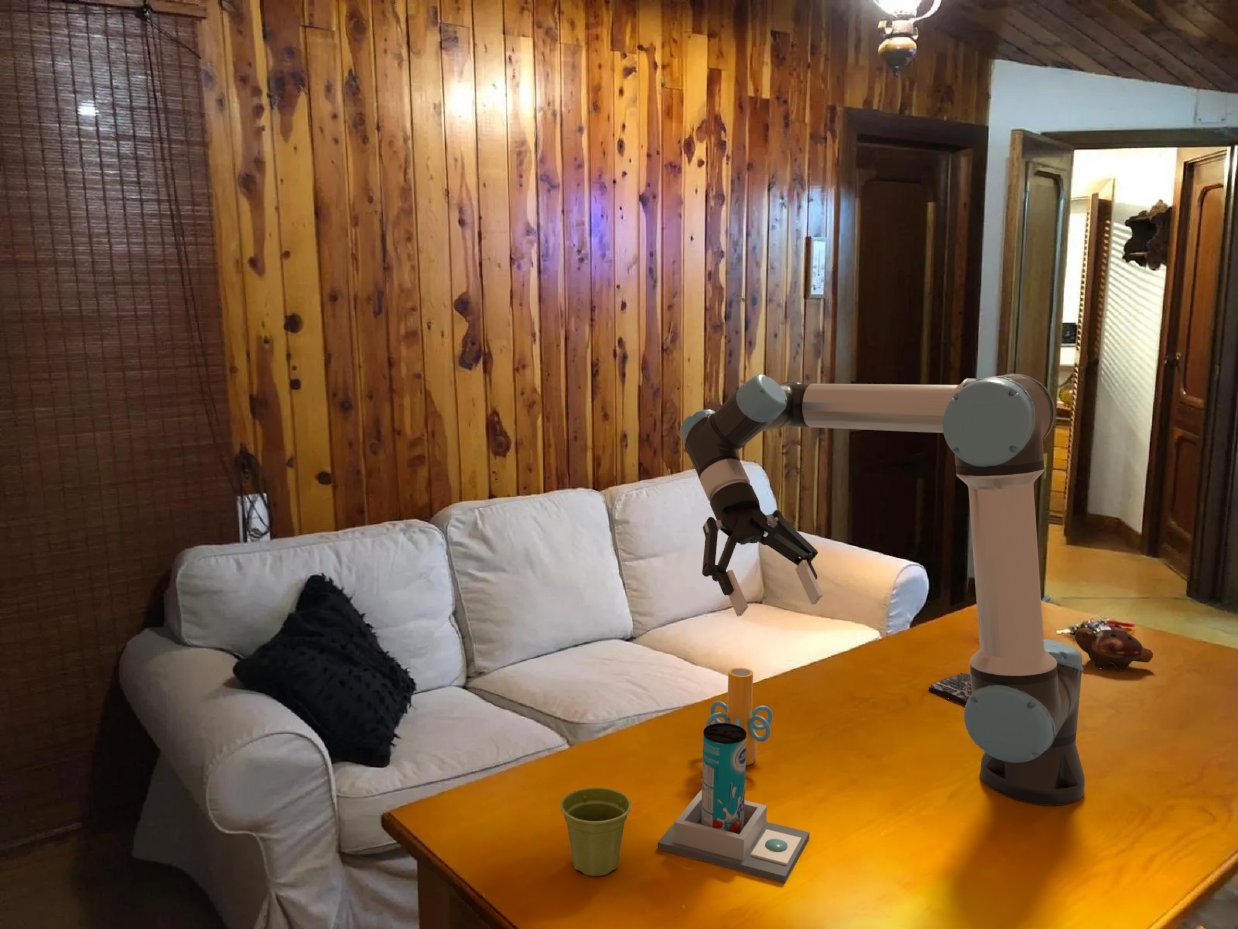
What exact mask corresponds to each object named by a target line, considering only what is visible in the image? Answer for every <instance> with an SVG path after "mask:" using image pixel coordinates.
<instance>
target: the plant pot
mask: <svg viewBox="0 0 1238 929" xmlns="http://www.w3.org/2000/svg"><path fill="white" fill-rule="evenodd" d="M559 806H560V808H559V809H560V811H561V812H562V814H563V816H564V817H563V818H564V821H565V822H566V826H567V833H568V840H569V845H570V846H569V847H570V854H571V860H572V866H573V868H574V870H576V871H580V872H581V873H582V874H584V875H586V876H589V877H598V876H601V877H602V876H605V875H608V874H609V873H610V872H612V871H613V870H616V869H617V868H618V866H619V863H620V862H619V861H620V855H621V848H622V842H623V837H624V836H623V835H624V829H625V823H626V821H627V819H628V814H629V813H630V812H631V809H632V801H631V800H630V798H629V797H628V796H627V795H626V794H625V793H623V792H622V791H620V790H616V789H612V788H608V787H595V786H594V787H585V788H584V787H583V788H581V789H575V790H574V791H573V790H572V792H569V793H568V794H566V795H564V796H563V798H562V799H561V801H560V805H559Z"/></svg>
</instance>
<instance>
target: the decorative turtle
mask: <svg viewBox="0 0 1238 929" xmlns="http://www.w3.org/2000/svg"><path fill="white" fill-rule="evenodd" d="M1074 640H1075V642H1076V644H1077V646H1078V647H1079V648H1080V649H1081V650H1082V651H1083V652H1084V653H1086V654H1087V655H1088V658H1089V659H1090V660H1091V661H1092V662H1093V663H1094V666H1095V667H1096V668H1097V669H1098V668H1102V669H1103V668H1104V669H1105V667H1106V666H1108V665H1109V664H1112V665H1113V666H1114V667H1115V668H1116V669H1117V670H1119V672H1124V671H1126V670H1127V669H1128V668H1129V667H1130V665H1131V663H1133V662H1137V663H1150V662H1151V660H1153V658H1154V652H1153V651H1152V650H1151V649H1149V648H1146V647H1144V646H1143V644H1142V643H1141V641H1139V640H1138V638H1136V637H1134V636H1133V635H1131V634H1130V633H1127V632H1125V631H1121V630H1118V629H1102V630H1099V631H1096V632H1095V631H1094V630H1092V629H1091V628H1089V627H1082V628H1078V629H1077V630H1076V632H1075V633H1074Z"/></svg>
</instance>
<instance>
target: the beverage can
mask: <svg viewBox="0 0 1238 929" xmlns="http://www.w3.org/2000/svg"><path fill="white" fill-rule="evenodd" d="M702 733H703V736H702V738H703V740H702V742H703V743H702V771H701V773H702V775H701V776H702V778H701V779H702V780H701V790H702V817H701V825H704V826H708V827H712V828H716V829H720V830H724V831H728V832H732V833H736V834H740V833H741V831H742V830H743V828H744V800H745V798H746V797H745V794H746V767H747V766H746V735H747V733H746V731H745V730H744V729H743V728H742V727H740V726H737V725H734V724H729V723H711V725H709V726H707V727H706V726H705V727H704V729H703V732H702ZM745 801H746V800H745Z"/></svg>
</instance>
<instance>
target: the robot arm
mask: <svg viewBox="0 0 1238 929" xmlns="http://www.w3.org/2000/svg"><path fill="white" fill-rule="evenodd" d="M1055 418H1056V406H1055V401H1054V399H1053V397H1052V394H1051V392H1050V391H1049V390H1048V389H1047V387H1046V385H1044V384H1043V383H1042V382H1040V381H1039V380H1037V379H1035V378H1033V377H1031V376H1029V375H1026V374H1022V373H1021V374H1020V373H1007V374H1002V375H1001V374H1000V375H997V376H990V375H989V376H988V377H983V378H982V377H981V378H965V379H964V380H963V381H962V382H961V383H960V384H896V383H895V384H891V383H889V384H888V383H887V384H886V383H885V384H882V383H880V384H877V383H876V384H874V383H870V384H869V383H802V382H795V381H788V382H787V381H785V382H781V383H778V382H776V381H775V380H774V379H773V378H771V377H769V376H767V375H765V374H756V375H753V376H752V377H751V378H750V379H748V380H747V381H746V382H744V383H742V384H741V385H740V386H739V388H738V389H737V390H736V391H735V392H734V393H733V394H732V395H731V396H730V397H729V398H728V399H727V400H726V401H724V403H723V404H721V406H719V407H718V408H717V410H713V409H701V410H697V411H696V412H695V413H693V414H689V415H688V416H687V417H686V418H684V420H683V421H682V423H681V425H680V429H679V434H680V437H681V439H682V443H683V445H684V446H683V447H684V450H685V452H686V454H687V455H688V457H689V459H690V461H691V463H692V466H693V468H694V469H695V472H696V474H697V477H698V479H699V482H700V484H701V486H702V489H703V491H704V493H705V496H706V498H707V500H708V501H709V505H710V507H711V511H712V512H713V515H714V517H715V518H714V517H713V516H709V517H708V518H707V520H706V521H705V523H704V524H703V526H702V531H703V534H704V548H703V550H704V551H703V560H702V561H703V562H702V567H701V568H702V569H701V574H702V575H703V576H704V577H705V578H706V577H707V578H709V577H711V579H712V581H714V582H718V585H719V587H720V590H721V592H722V593H723V595H724V596H725V597H726V596H728V598H729V600H730V603H731V605H732V608H733V610H734V612H735V615H736V617H742V616H743V615H744V614H745V612H746V611H747V609H748V608H749V605H748V603H747V601H746V599H745V595H744V594H743V592H742V589H741V587H740V584H739V582H738V579H737V577H736V576H735V575H736V574H735V572H734V570H733V569H729V570H727V568H728V566H729V565H730V562H731V559H732V557H733V554H734V551H735V549H736V546H737V544H740V546H742V545H747V544H758V543H760V544H761V545H762V546H768V547H769V548H771V549H773V551H775V552H777V553H778V554H780V555H781V556H783V557H784V558H785V559H787V560H788V561H790V562H791V563H793V564H794V565H796V567H795V569H794V570H795V573H796V574H797V576H798V579H799V581H800V583H801V585H802V587H803V589H804V592H805V594H806V596H807V597H808V600H809V601H810V604H811V605H816V604H817V603H818V602H819V601H820V599H822V597H823V596H824V594H823V592H822V589H821V587H820V586H819V583H818V581H817V579H818V574H817V572H816V570H815V567H814V566H813V563H812V561H813V560H815V558H816V556H817V555H818V554H819V552H818V549H816V548H815V547H814V546H813V545H812V544H811V543H810V542H809V541H808V540H807V539H806V538H805V537H804V536H802V534H800V532H799V531H797V529H795V528H794V527H793V526H792V525H791V524H790V523H789V522H788V521H787V520H786V519H785V517H784V515H783V514H782V512H781V511H780V510H778V509H775V510H774V511H773V512H772V513H770V514H765V513H764V512H763V511H762V510H761V507H760V506H761V505H760V500H759V498H758V496H757V494H756V491H755V490H754V487H753V486H752V484H751V480H750V478H749V477H748V475H747V471H745V468H744V466H743V464H742V462H741V460H740V458H739V455H738V451H740V450H741V449H742V448H744V447H745V446H746V445H747V444H748V443H749V442H750V441H752V440H753V439H754V438H755V437H756V436H758V434H760V433H761V432H766V431H771V430H775V429H780V428H822V429H823V428H824V429H844V430H846V429H847V430H849V429H850V430H869V431H870V430H871V431H872V430H873V431H892V432H912V433H913V432H914V433H915V432H917V433H938V434H939V433H940V434H943V436H944V438H945V439H944V440H945V442H946V444H947V446H948V447H949V449H950V450H951V451H952V452H953V454H954V460H955V461H954V462H955V475H956V477H957V478H958V479H960V480H961V481H962V482H963V483H964V484H965V485H967V488H968V498H969V500H968V501H969V513H970V516H969V517H970V528H971V543H972V555H973V570H974V584H975V587H974V588H975V597H976V598H975V599H976V600H975V601H976V612H977V626H978V640H979V641H978V642H979V649H978V650H977V651H976V652H975V653H974V654H973V655H972V656H971V657H970V659H969V669H970V671H969V673H971V687H972V694H971V696H970V697H969V698H968V700H967V703H966V705H965V706H964V711H963V721H964V726H965V729H966V731H967V733H968V735H969V737H970V739H971V740H972V741H973V742H974V744H975V745H977V746H978V747H979V748H980V749H981V750H982V751H983V754H982V757H981V760H980V771H979V775H980V778H981V780H982V781H983V782H984V783H985V784H986V785H987V786H988V787H989V788H990V789H992V790H994V791H995V792H997V793H999V794H1001V795H1003V796H1005V797H1008V798H1011V799H1014V800H1016V801H1020V802H1022V803H1023V802H1024V803H1028V804H1034V805H1039V806H1040V805H1041V806H1062V805H1063V806H1065V805H1069V804H1074V803H1076V802H1077V801H1079V800H1081V799H1082V798H1083V797H1084V793H1085V785H1086V780H1085V778H1086V777H1085V773H1084V769H1083V765H1082V761H1081V758H1080V755H1079V754H1080V753H1079V751H1078V747H1077V730H1078V720H1079V708H1080V696H1081V686H1082V685H1081V684H1082V674H1083V672H1084V667H1083V654H1082V653H1081V651H1080V650H1079V649H1078V648H1076V647H1074V646H1072V645H1070V644H1067V643H1065V642H1064V643H1063V642H1061V641H1057V640H1052V639H1048V638H1045V637H1044V627H1043V626H1044V624H1043V611H1042V609H1043V608H1042V594H1041V593H1042V592H1041V579H1040V578H1041V577H1040V565H1039V564H1040V562H1039V549H1038V548H1039V547H1038V533H1037V532H1038V531H1037V520H1036V519H1037V518H1036V505H1035V503H1036V502H1035V489H1034V488H1035V487H1034V485H1035V484H1034V483H1035V481H1036V480H1037V479H1038V478H1039V477H1040V476H1041V475H1042V474H1043V473H1044V472H1045V458H1044V457H1045V456H1044V442H1043V441H1044V440H1045V439H1046V438H1047V437H1048V435H1049V434H1050V432H1051V431H1052V428H1053V426H1054V423H1055ZM719 531H721V532H722V533H723V534H725V535H726V536H727V538H726V541H725V543H724V548H723V550H722V553H721V555H720V557H719V560H718V561H717V564H716V558H717V547H718V538H719V537H718V536H719V534H718V533H719ZM765 533H766V536H765Z"/></svg>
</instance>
